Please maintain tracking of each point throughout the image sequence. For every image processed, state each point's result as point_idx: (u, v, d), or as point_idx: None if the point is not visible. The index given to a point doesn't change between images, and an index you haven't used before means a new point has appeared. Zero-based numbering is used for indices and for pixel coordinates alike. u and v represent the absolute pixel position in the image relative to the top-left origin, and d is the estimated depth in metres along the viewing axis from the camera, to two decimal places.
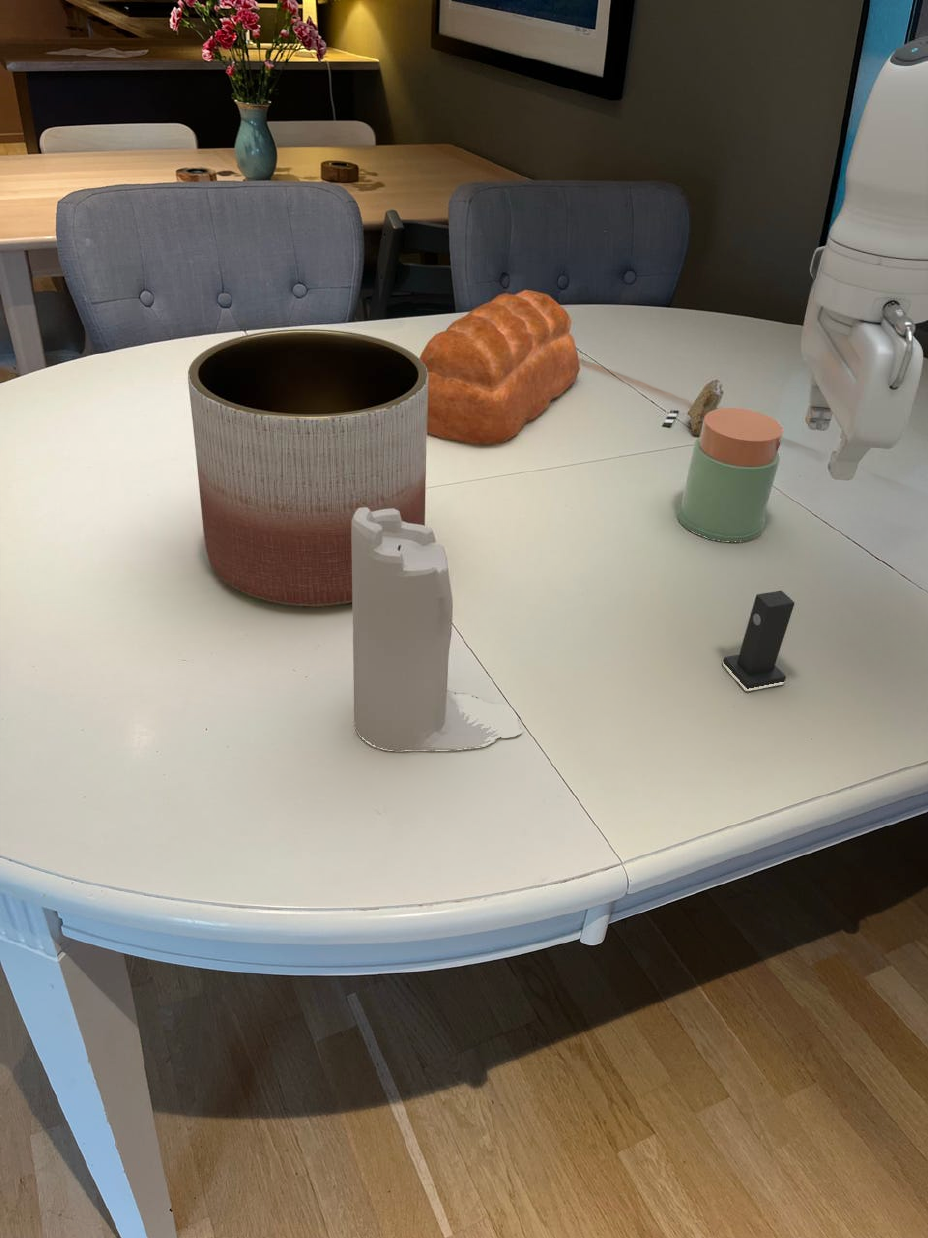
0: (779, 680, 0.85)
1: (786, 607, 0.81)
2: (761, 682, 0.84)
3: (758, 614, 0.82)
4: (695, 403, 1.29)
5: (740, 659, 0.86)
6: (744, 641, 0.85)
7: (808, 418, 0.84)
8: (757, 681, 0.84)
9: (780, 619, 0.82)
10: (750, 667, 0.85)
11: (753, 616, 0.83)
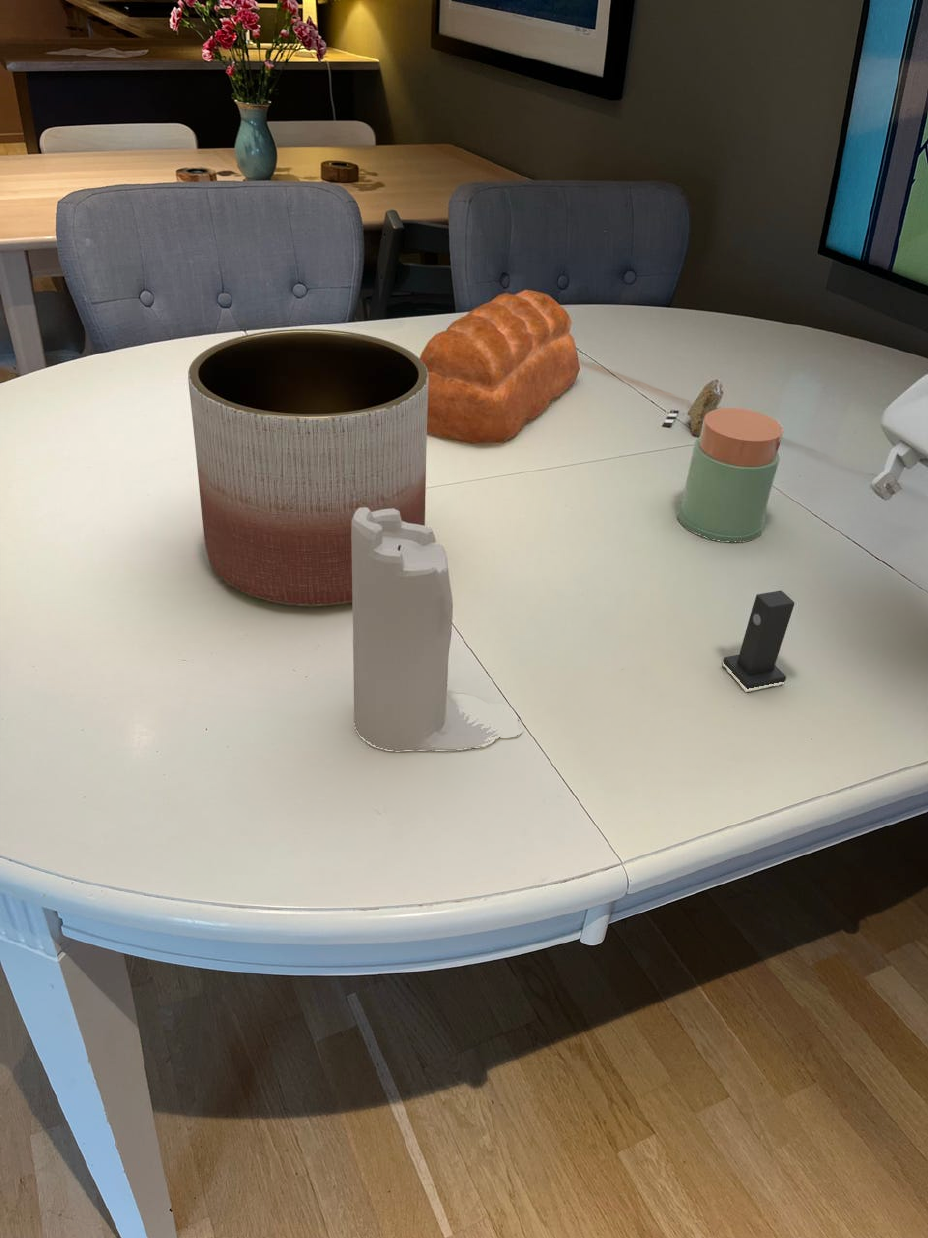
0: (779, 680, 0.85)
1: (786, 607, 0.81)
2: (761, 682, 0.84)
3: (758, 614, 0.82)
4: (695, 403, 1.29)
5: (740, 659, 0.86)
6: (744, 641, 0.85)
7: (882, 482, 0.85)
8: (757, 681, 0.84)
9: (780, 619, 0.82)
10: (750, 667, 0.85)
11: (753, 616, 0.83)
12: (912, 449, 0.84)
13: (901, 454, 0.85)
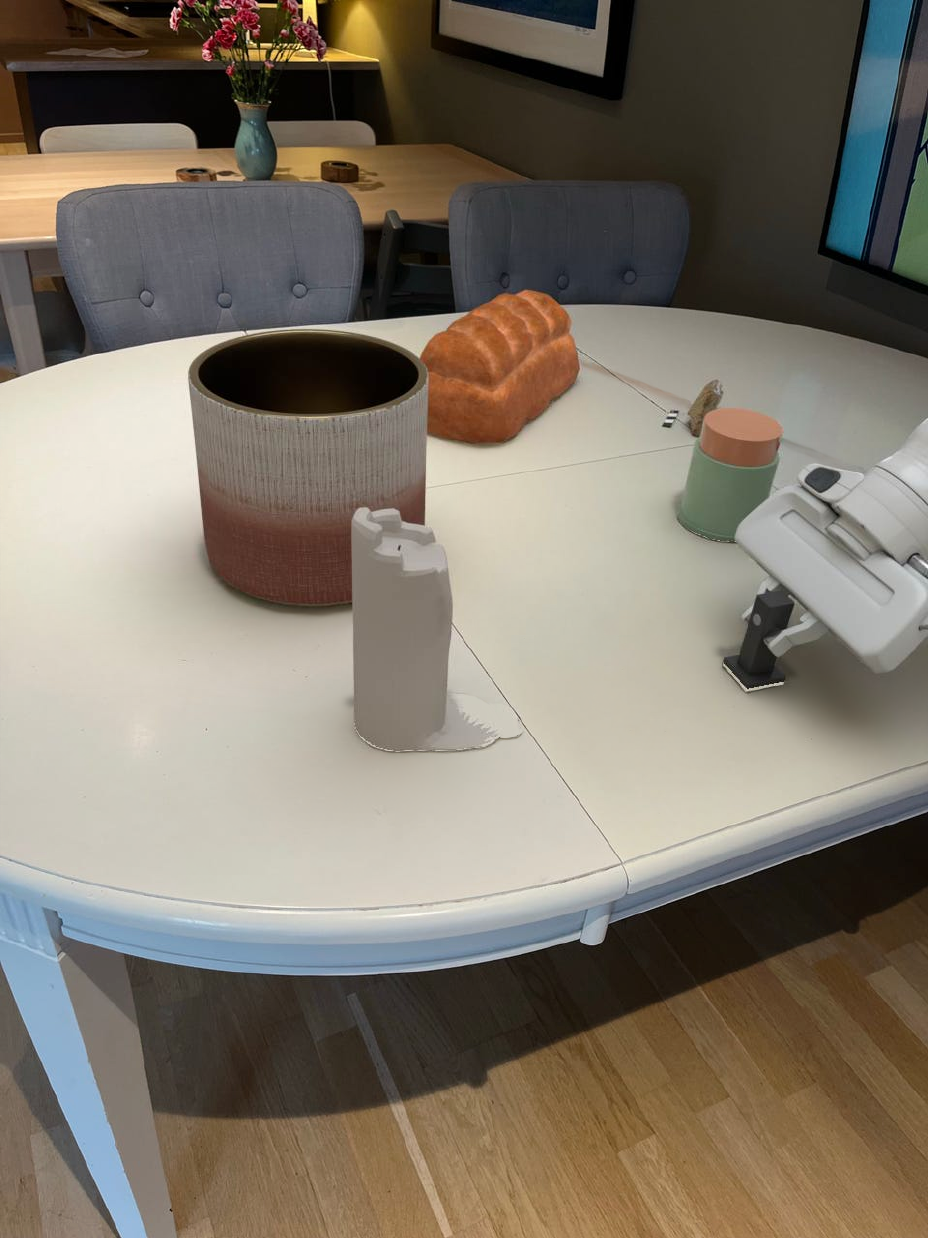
0: (779, 680, 0.85)
1: (786, 607, 0.81)
2: (761, 682, 0.84)
3: (758, 614, 0.82)
4: (695, 403, 1.29)
5: (740, 659, 0.86)
6: (744, 641, 0.85)
7: None
8: (757, 681, 0.84)
9: (780, 619, 0.82)
10: (750, 667, 0.85)
11: (753, 616, 0.83)
12: (781, 584, 0.84)
13: (770, 589, 0.84)
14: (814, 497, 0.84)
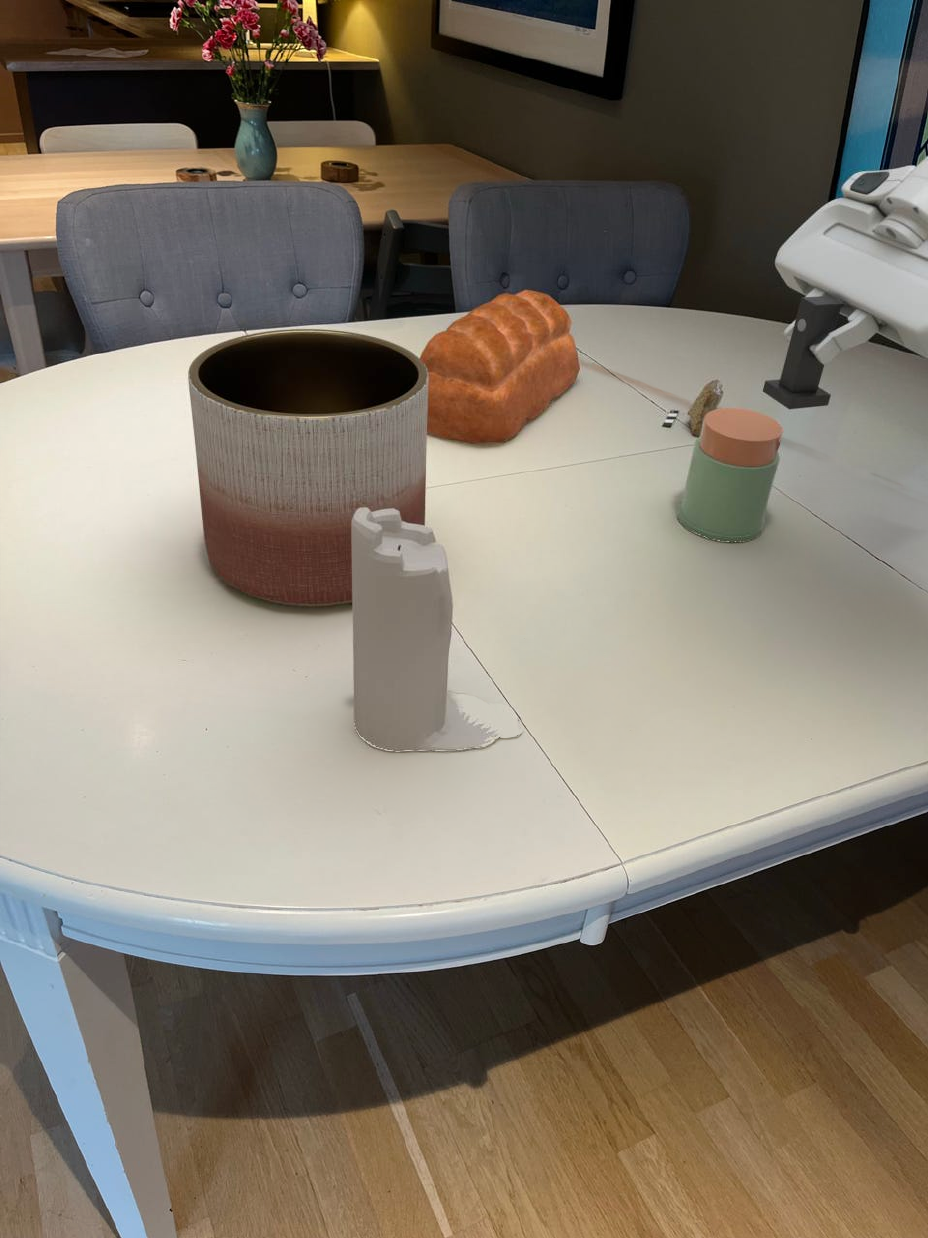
0: (824, 398, 0.81)
1: (833, 308, 0.78)
2: (805, 397, 0.81)
3: (803, 318, 0.78)
4: (695, 403, 1.29)
5: (782, 378, 0.82)
6: (787, 356, 0.81)
7: None
8: (801, 397, 0.81)
9: (826, 323, 0.78)
10: (794, 382, 0.81)
11: (797, 323, 0.79)
12: (826, 294, 0.80)
13: None
14: (861, 202, 0.80)
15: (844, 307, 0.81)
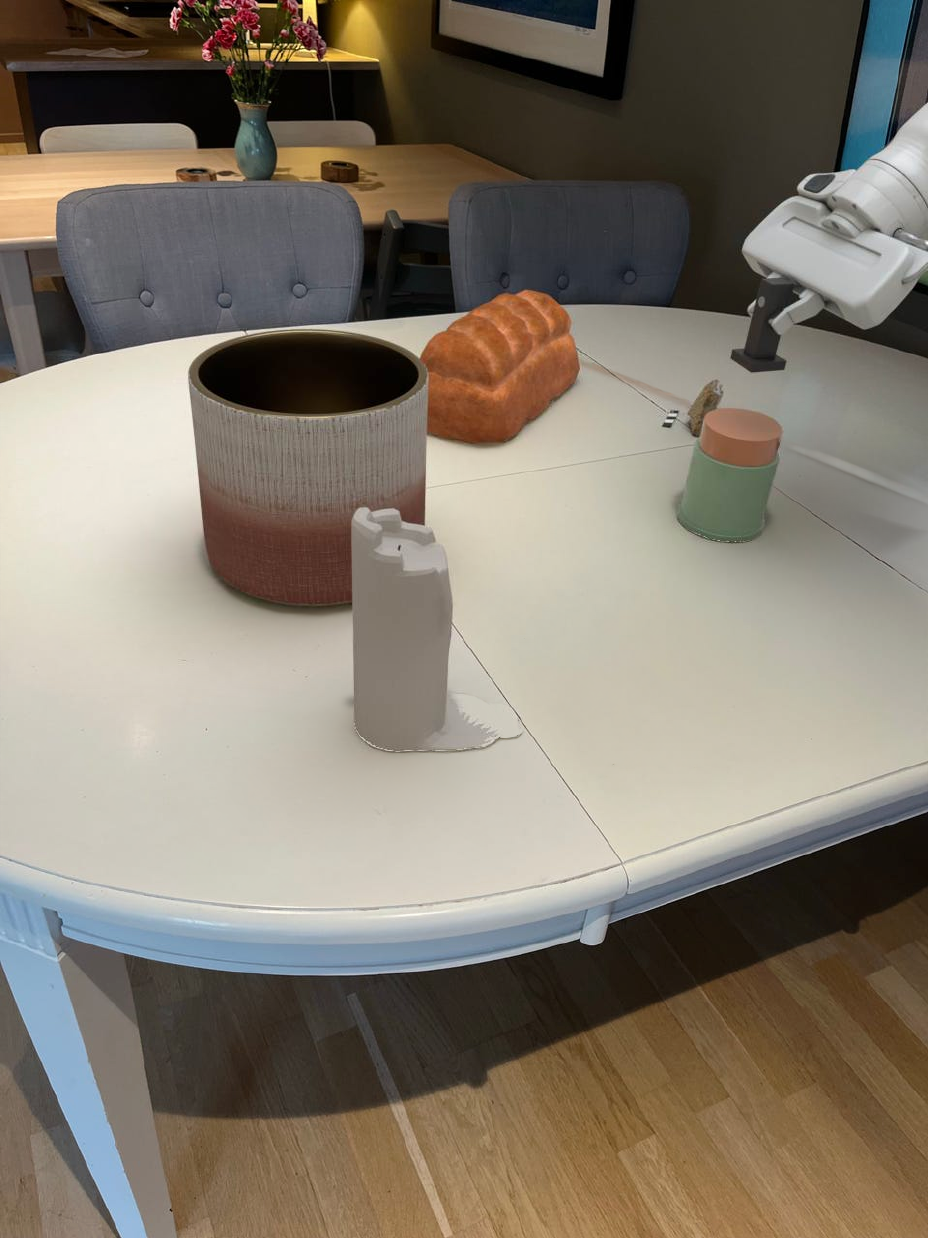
0: (780, 364, 0.97)
1: (787, 287, 0.93)
2: (764, 363, 0.97)
3: (762, 296, 0.94)
4: (695, 403, 1.29)
5: (746, 347, 0.98)
6: (750, 328, 0.97)
7: None
8: (761, 362, 0.97)
9: (782, 300, 0.94)
10: (755, 350, 0.97)
11: (758, 300, 0.95)
12: (783, 276, 0.96)
13: None
14: (812, 199, 0.96)
15: (798, 287, 0.97)
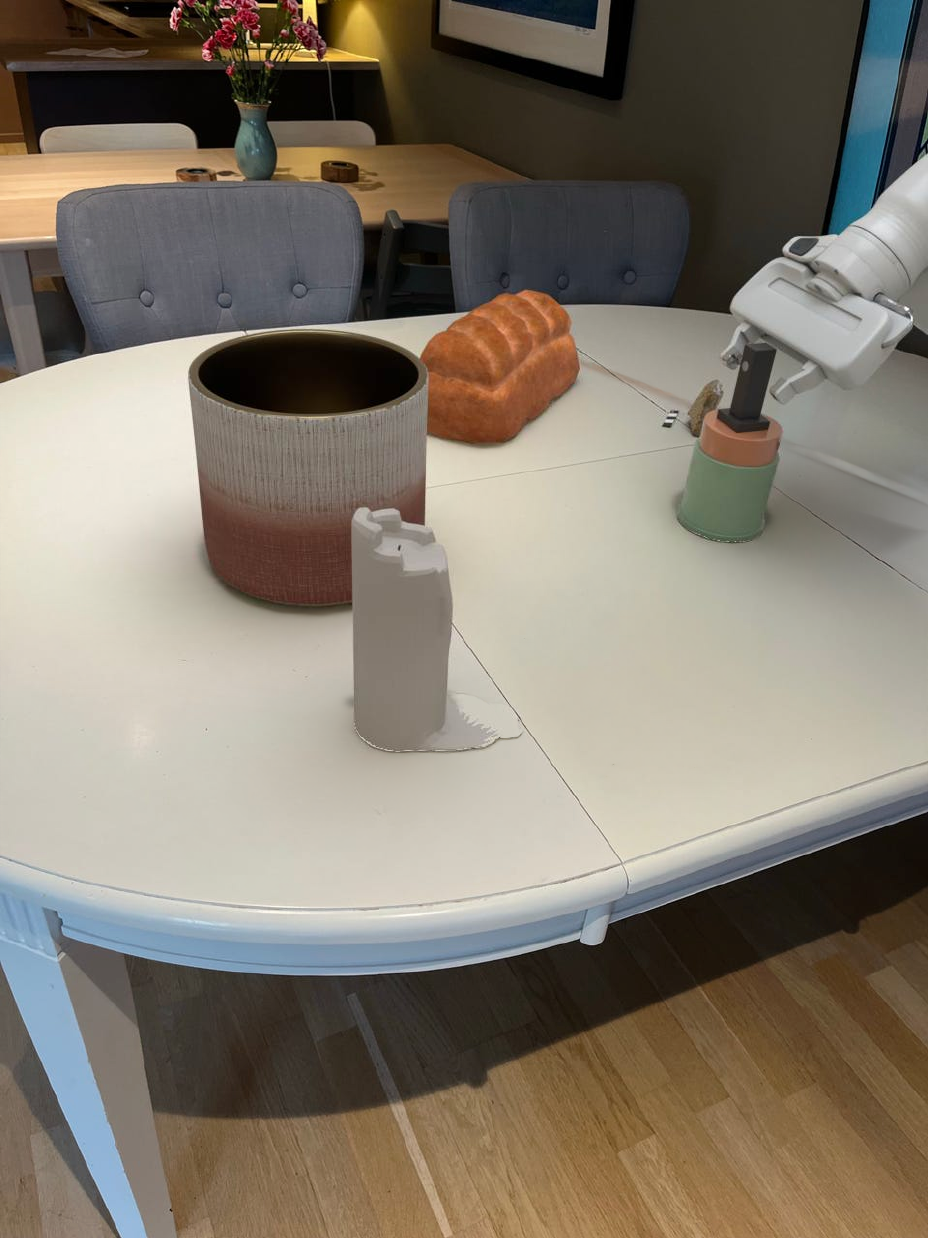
0: (764, 424, 1.01)
1: (770, 353, 0.97)
2: (749, 423, 1.00)
3: (746, 361, 0.98)
4: (695, 403, 1.29)
5: (732, 408, 1.02)
6: (735, 390, 1.01)
7: (728, 354, 1.02)
8: (746, 423, 1.00)
9: (765, 364, 0.98)
10: (740, 411, 1.01)
11: (742, 364, 0.99)
12: (752, 326, 1.02)
13: (743, 330, 1.02)
14: (796, 262, 1.00)
15: (784, 346, 1.00)
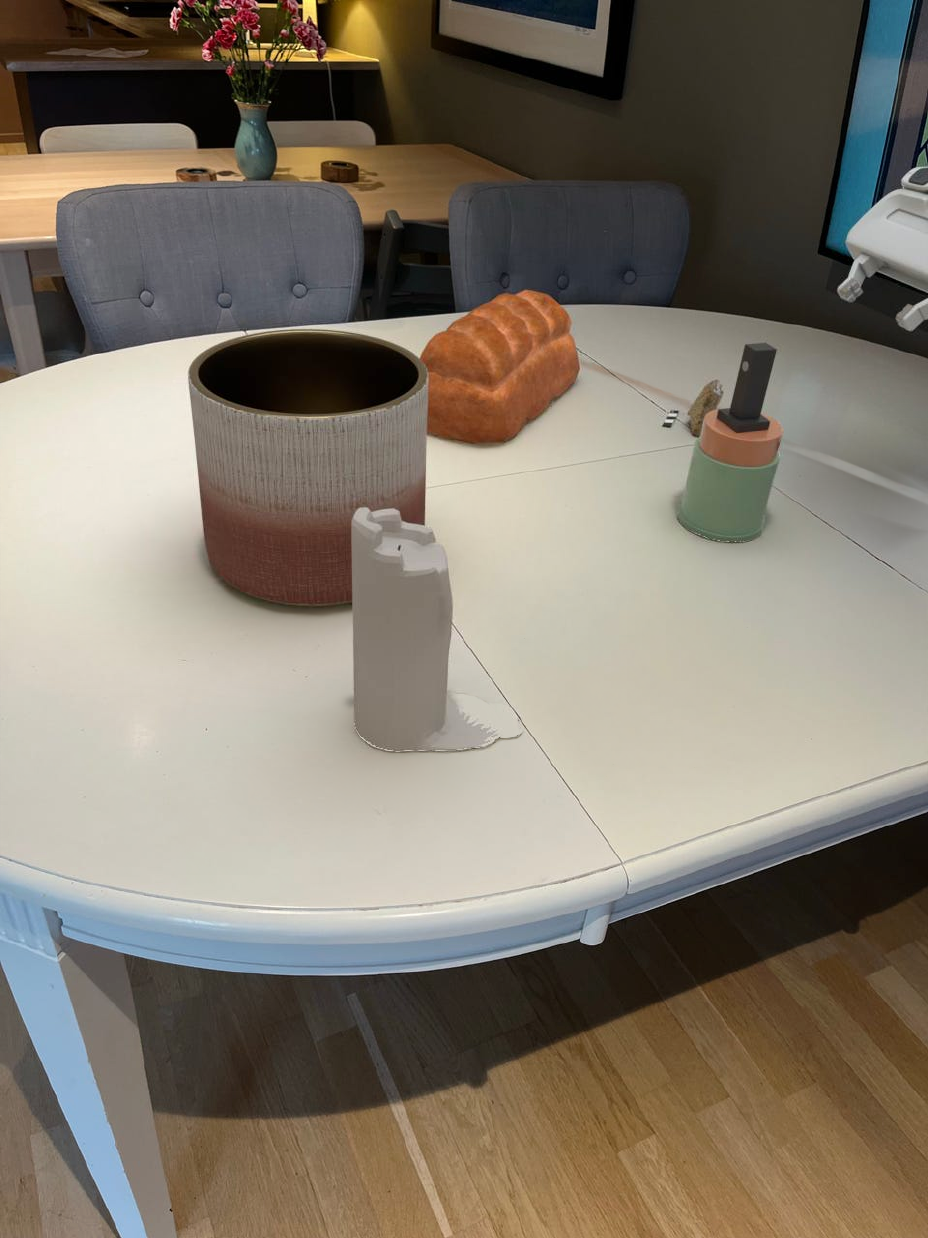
0: (764, 424, 1.01)
1: (770, 353, 0.97)
2: (749, 423, 1.00)
3: (746, 361, 0.98)
4: (695, 403, 1.29)
5: (732, 408, 1.02)
6: (735, 390, 1.01)
7: (847, 286, 1.02)
8: (746, 423, 1.00)
9: (765, 364, 0.98)
10: (740, 411, 1.01)
11: (742, 364, 0.99)
12: (871, 258, 1.02)
13: (862, 262, 1.02)
14: (918, 191, 1.00)
15: (905, 276, 1.00)
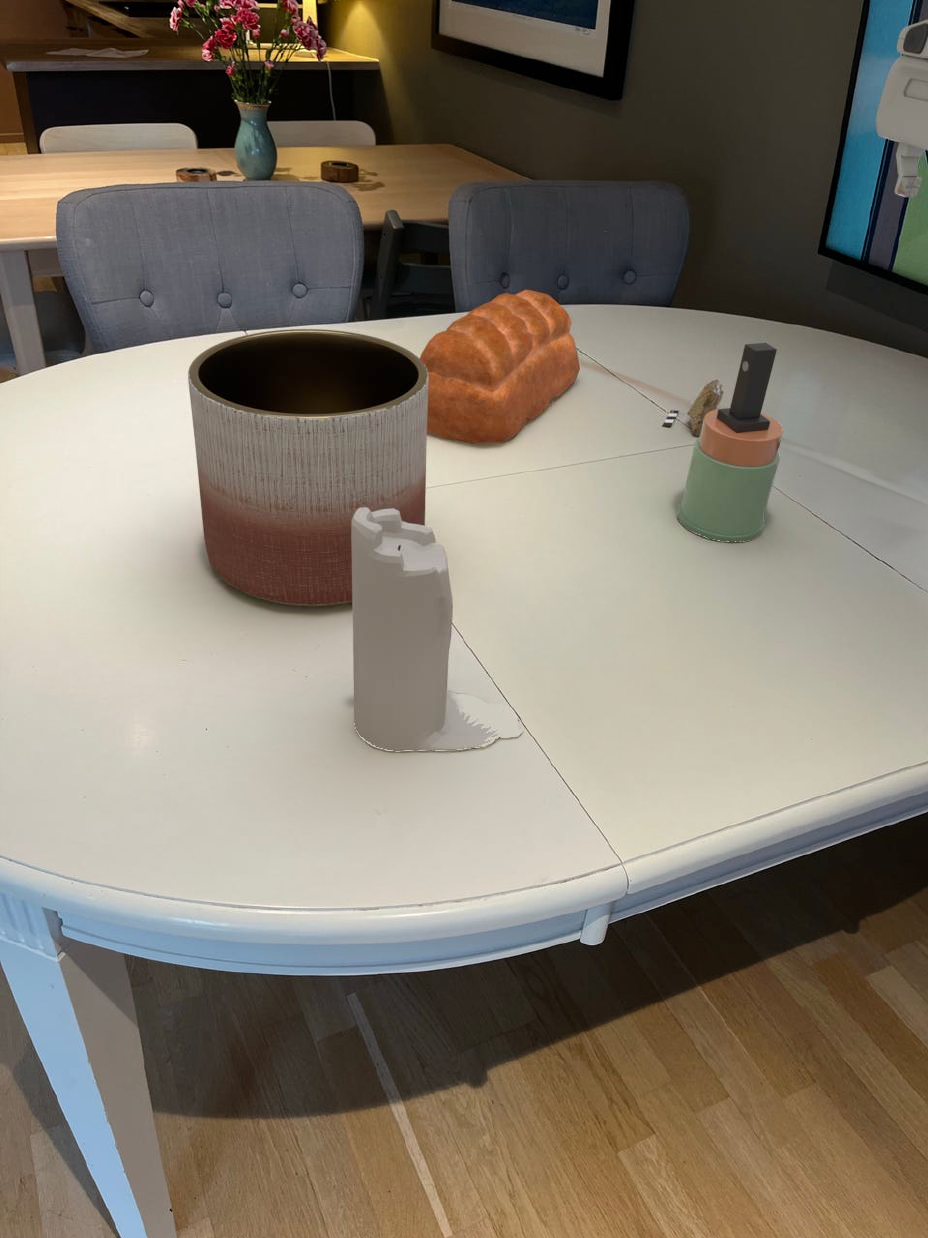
0: (764, 424, 1.01)
1: (770, 353, 0.97)
2: (749, 423, 1.00)
3: (746, 361, 0.98)
4: (695, 403, 1.29)
5: (732, 408, 1.02)
6: (735, 390, 1.01)
7: (902, 187, 0.96)
8: (746, 423, 1.00)
9: (765, 364, 0.98)
10: (740, 411, 1.01)
11: (742, 364, 0.99)
12: None
13: (904, 154, 0.95)
14: (919, 58, 0.89)
15: None
